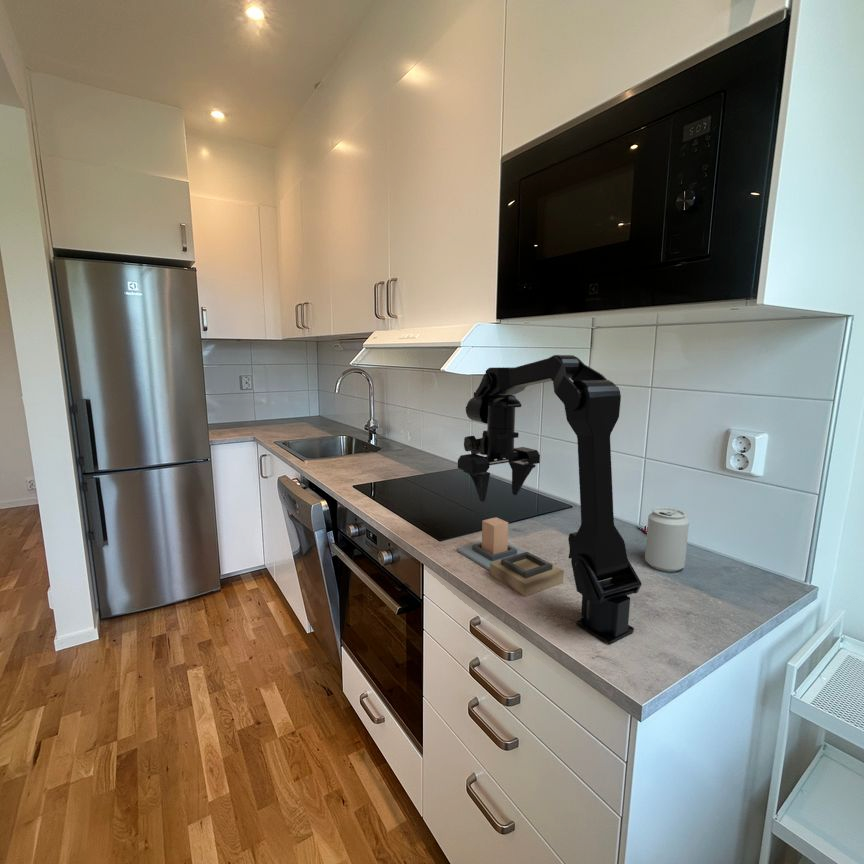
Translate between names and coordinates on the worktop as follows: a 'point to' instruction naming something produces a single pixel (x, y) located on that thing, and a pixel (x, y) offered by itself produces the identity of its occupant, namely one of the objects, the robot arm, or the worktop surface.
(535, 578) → the beige square socket
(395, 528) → the worktop surface
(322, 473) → the worktop surface
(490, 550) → the plug
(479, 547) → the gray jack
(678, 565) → the can
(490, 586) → the worktop surface
